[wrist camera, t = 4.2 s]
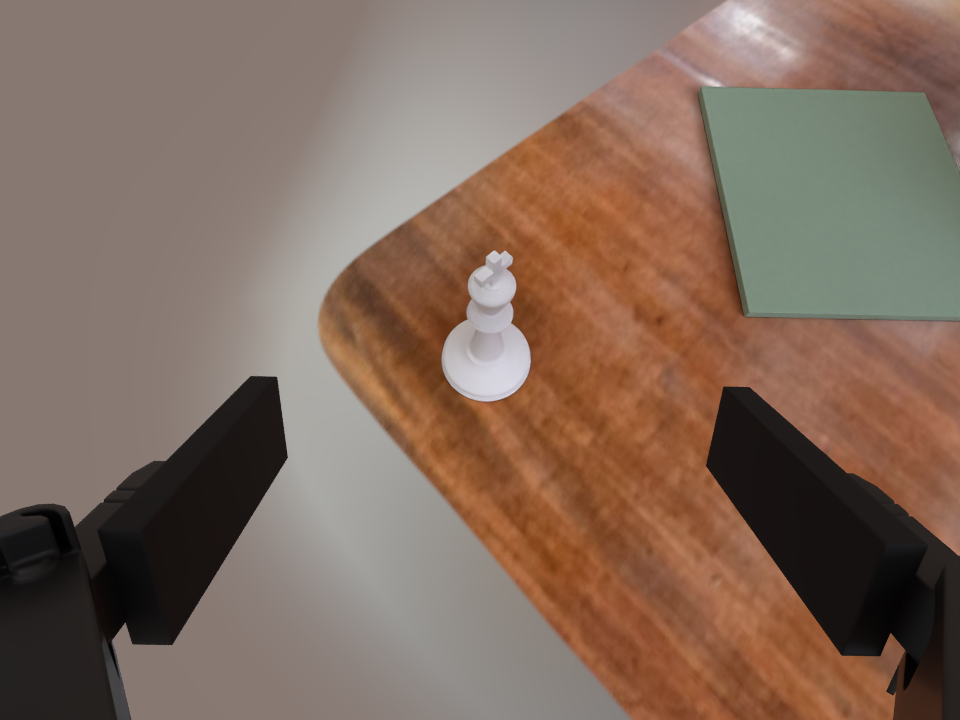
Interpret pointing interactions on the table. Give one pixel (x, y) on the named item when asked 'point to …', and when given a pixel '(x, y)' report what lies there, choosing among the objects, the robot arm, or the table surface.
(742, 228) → the mat
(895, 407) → the table surface
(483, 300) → the chess piece
